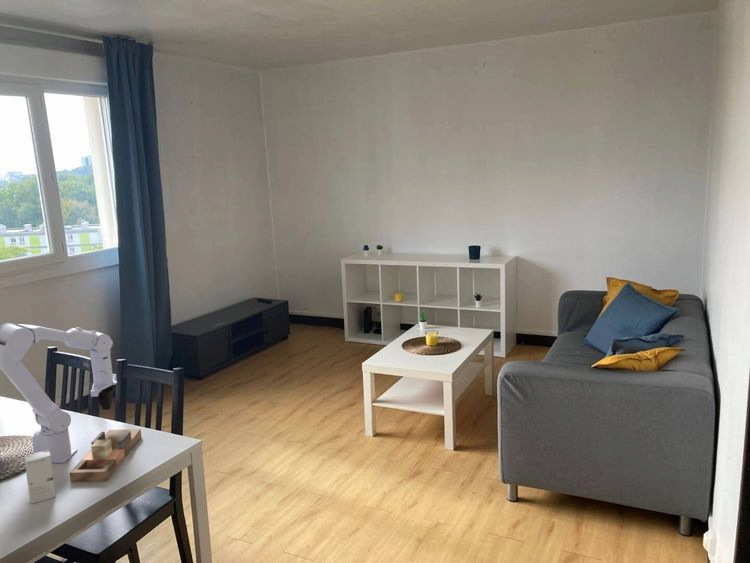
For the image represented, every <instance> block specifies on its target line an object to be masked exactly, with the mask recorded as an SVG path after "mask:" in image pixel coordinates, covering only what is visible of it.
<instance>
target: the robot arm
mask: <svg viewBox="0 0 750 563" xmlns="http://www.w3.org/2000/svg"><path fill="white" fill-rule="evenodd" d="M41 340H46V341H54V342H55V341H56V342H62V343H64V344H65V346H67V347H68V348H73V349H74V348H75V349H82V350H86V351H87V350H89V355H90V363H91V364H90V365H91V370H92V378H93V379H92V380H93V384H92V386H91V390H89V391H90V397H91V398H93V397H95V398H96V399H97V400H98V401H99V403H100V406H101V409H102V410H104V411H106V410H107V411H108V410H110V409H111V408H112V403H113V397H114V392H115V391H116V388H117V386H116V385H117V384H118V381H117V374H116V373H113V367H112V358H111V348H112V347H113V345H114V344H113V343H114V342H113V341H114V340H112V338H111V337H110V336H109V334H107V333H106V334H105V333H102V332H99V331H96V330H93V329H91V330H85V329H83V328H82V327H79V326H76V327H75V328H74V327H72V328H70V329H68V330H67V331H66V330H65V331H64V330H60V329H56V328H50V327H44V326H39V325H34V324H25V323H24V324H23V323H22V324H21V323H18V324H17V325H16V324H14V323H11V322H9V323H8V322H7V323H4V324H2V325H0V370H1V371H2V372H3V373H4V375H5V376H6V377H7V379H8V380H9V381H10V382H11V383H12V385H13V386H14V387H15V388H16V389H17V391H18V392H19V393H20V395H22V397H23V399H25V401H26V402H27V404H29V406H30V407H31V408H32V409H31V412H32V413H33V414H34V417H35V422H36V423H37V424H38V425H39V426H40V429H38V430H36V431H35V432H34V433H33V436H32V449H33V450H32V451H33V453H37V452H42V451H47V450H49V451H50V455H51V462H52V464H55V463H66V462H68V460H69V459H70V458H71V457H72V456H73V455H74V454H75V453H76V452H77V451H78V448H72V446H71V440H70V432H69V427H70V425H71V422H72V418H71V415H70V414H69V412H67V411H64V410H62V409H61V407H59V406H58V405H57V404H56V403H54V402H53V401H52V400H51V398H50V397H49V396H48V394H47V393H46V392H45V391H44V389H43V388H42V387H41V386H40V384H39V383H38V382H37V379H35V378H34V376H33V375H32V374H31V373H30V371H29V370H28V369H27V367H26V366H25V365H24V363H23V362H22V360H23V357H24V356H25V355H26V353H28V350H29V349H30V348H31V346H32V345H33V344H38V342H40V341H41Z"/></svg>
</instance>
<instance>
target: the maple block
mask: <svg viewBox="0 0 750 563" xmlns="http://www.w3.org/2000/svg"><path fill="white" fill-rule="evenodd" d="M90 446H91V447H90V448H91V449H92V456H93V459H106V458H107V457H108V456H109V455H110V454H111V453H112V446H111V439H109V440H97V441H96V442H95V443H94V444H93V445H92V444H91V445H90ZM91 449H90V450H91Z"/></svg>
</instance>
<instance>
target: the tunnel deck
mask: <svg viewBox="0 0 750 563" xmlns="http://www.w3.org/2000/svg"><path fill="white" fill-rule="evenodd" d="M109 439H111V446H112V453H111V454H110V455H109V456H108V457H107V458H106V459H93V456H92V449H90V450H89V451H88V453H87V454H86V455H85V456H83V458H81V460H80V461H79V462H78V463H77V464H76V465H75V466H74V467H73V468H72V469H71V470H70V471H69V478H70V483H96V482H99V483H101V482H104V483H105V482H108V480H109V479H110V478H111V477H112V475H113V474H114V473H115V472H116V471H117V469H118V468H119V466H120V465H121V464H122V463H123V462H122V461H124V460H125V459H126V458H127V457H128V456H129V454H130V451H131V452H132V450H133V449H134V448H135V447H136V445H137V444H138V443H139V442H138V441H140V440H142V431H141V428H136V429H135V428H133V429H109V430H108V431H107V432H106V433H105V431H101V432H100V433H99V434H98V435H97V436H96V437H95V438H94V439H93V440H91V446H92V445H93V444H94V443H95V442H96V441H97V440H109ZM134 446H135V447H134ZM126 456H127V457H126Z"/></svg>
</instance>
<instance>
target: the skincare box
mask: <svg viewBox="0 0 750 563" xmlns="http://www.w3.org/2000/svg"><path fill="white" fill-rule="evenodd" d="M23 458H24V463H25V464H24V466H25V473H26V481H27V488H28V489H27V490H28V497H29V502H30V504H34V503H35V504H36V503H39V502H43V501H47V500H50V499H53V498H55V497H56V490H55V481H54V474H53V463H52V462H51V455H50V451H49V450H47V451H42V452H37V453H34V452H33V453H29V454H25V455H24V457H23Z"/></svg>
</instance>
